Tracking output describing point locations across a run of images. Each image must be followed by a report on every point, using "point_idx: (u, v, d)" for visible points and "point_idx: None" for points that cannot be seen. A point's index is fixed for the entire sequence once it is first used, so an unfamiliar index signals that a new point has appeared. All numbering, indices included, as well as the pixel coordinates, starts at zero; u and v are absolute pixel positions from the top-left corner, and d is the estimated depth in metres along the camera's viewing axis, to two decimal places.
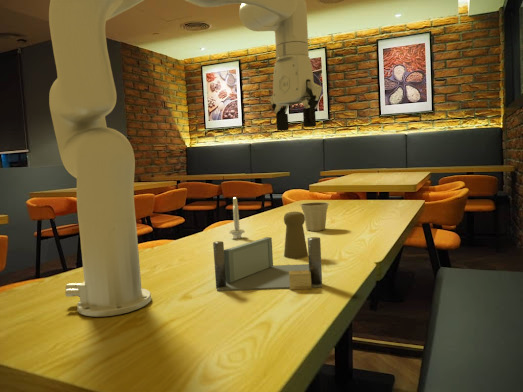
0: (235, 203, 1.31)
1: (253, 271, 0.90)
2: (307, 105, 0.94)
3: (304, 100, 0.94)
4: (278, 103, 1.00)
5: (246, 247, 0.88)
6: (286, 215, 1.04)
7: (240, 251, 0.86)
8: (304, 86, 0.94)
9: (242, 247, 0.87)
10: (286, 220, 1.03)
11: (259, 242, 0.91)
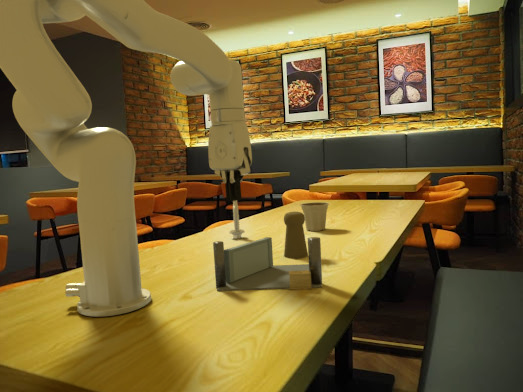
0: (235, 203, 1.31)
1: (253, 271, 0.90)
2: (232, 180, 0.94)
3: (232, 174, 0.93)
4: (214, 169, 0.95)
5: (246, 247, 0.88)
6: (286, 215, 1.04)
7: (240, 251, 0.86)
8: (242, 155, 0.91)
9: (242, 247, 0.87)
10: (286, 220, 1.03)
11: (259, 242, 0.91)
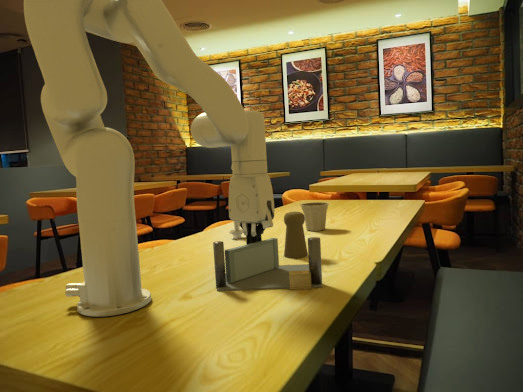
0: None
1: (256, 272, 0.89)
2: (254, 233, 0.91)
3: (254, 228, 0.90)
4: (235, 220, 0.92)
5: (249, 247, 0.87)
6: (286, 215, 1.04)
7: (242, 251, 0.86)
8: (265, 209, 0.88)
9: (244, 247, 0.86)
10: (286, 220, 1.03)
11: (263, 243, 0.90)
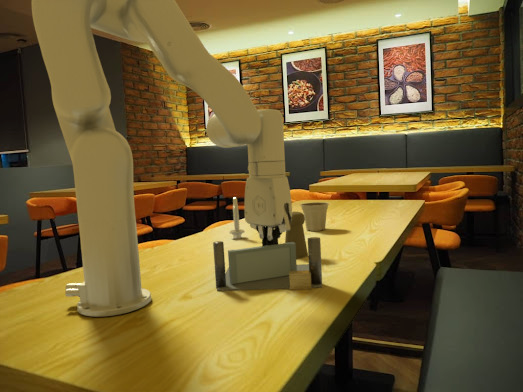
0: (235, 203, 1.31)
1: (266, 276, 0.86)
2: (270, 237, 0.87)
3: (271, 231, 0.87)
4: (251, 223, 0.89)
5: (256, 250, 0.84)
6: None
7: (247, 254, 0.84)
8: (282, 212, 0.84)
9: (250, 250, 0.84)
10: None
11: (276, 247, 0.86)
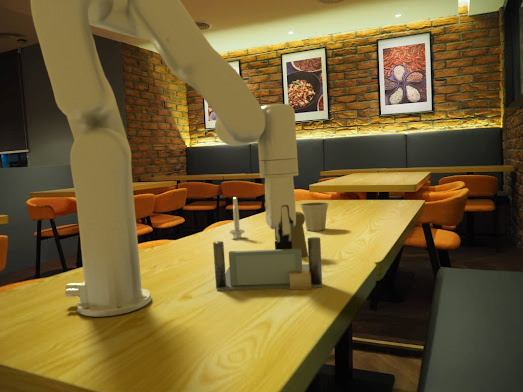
0: (235, 203, 1.31)
1: (268, 282, 0.82)
2: None
3: (277, 233, 0.82)
4: (267, 223, 0.86)
5: (257, 254, 0.81)
6: None
7: (247, 256, 0.81)
8: (278, 214, 0.78)
9: (250, 253, 0.81)
10: None
11: (279, 252, 0.81)
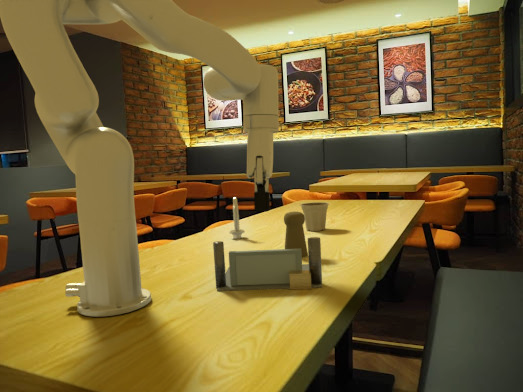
0: (235, 203, 1.31)
1: (268, 282, 0.82)
2: None
3: None
4: (251, 176, 0.94)
5: (257, 254, 0.81)
6: (286, 215, 1.04)
7: (247, 256, 0.81)
8: (252, 163, 0.86)
9: (250, 253, 0.81)
10: (286, 220, 1.03)
11: (279, 252, 0.81)
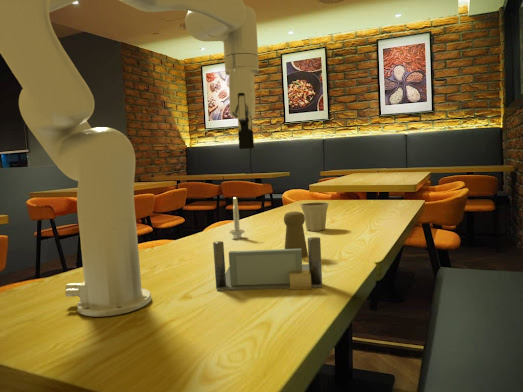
0: (235, 203, 1.31)
1: (268, 282, 0.82)
2: None
3: (238, 122, 0.94)
4: None
5: (257, 254, 0.81)
6: (286, 215, 1.04)
7: (247, 256, 0.81)
8: (235, 101, 0.90)
9: (250, 253, 0.81)
10: (286, 220, 1.03)
11: (279, 252, 0.81)
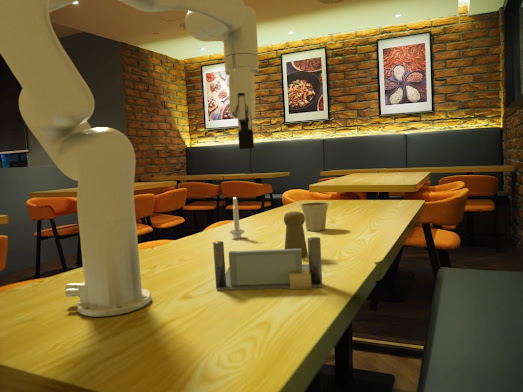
0: (235, 203, 1.31)
1: (268, 282, 0.82)
2: None
3: (238, 122, 0.94)
4: None
5: (257, 254, 0.81)
6: (286, 215, 1.04)
7: (247, 256, 0.81)
8: (235, 101, 0.90)
9: (250, 253, 0.81)
10: (286, 220, 1.03)
11: (279, 252, 0.81)
